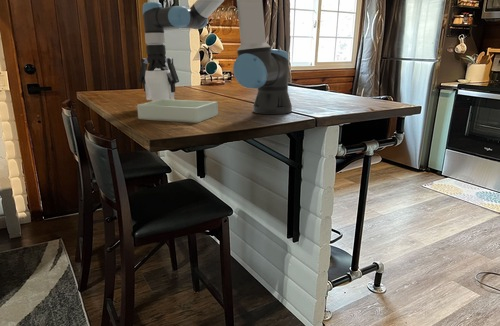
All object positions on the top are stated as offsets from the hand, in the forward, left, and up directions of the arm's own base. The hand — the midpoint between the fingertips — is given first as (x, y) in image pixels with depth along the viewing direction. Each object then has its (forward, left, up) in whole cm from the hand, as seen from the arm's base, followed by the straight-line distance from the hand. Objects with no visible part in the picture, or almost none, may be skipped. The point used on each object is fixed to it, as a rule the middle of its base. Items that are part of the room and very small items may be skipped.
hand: (160, 100), depth 160 cm
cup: (0, 0, -3) cm, 3 cm away
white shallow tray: (-18, +15, -4) cm, 23 cm away
